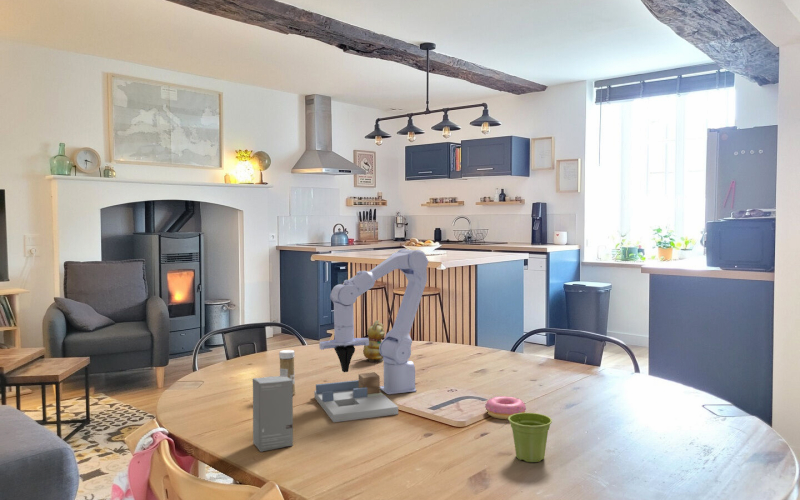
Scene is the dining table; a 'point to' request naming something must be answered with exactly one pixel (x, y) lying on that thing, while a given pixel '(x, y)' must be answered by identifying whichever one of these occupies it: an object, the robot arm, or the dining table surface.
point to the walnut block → (370, 382)
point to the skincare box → (272, 412)
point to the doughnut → (504, 406)
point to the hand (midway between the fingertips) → (345, 371)
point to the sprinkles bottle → (287, 365)
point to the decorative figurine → (374, 342)
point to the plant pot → (530, 435)
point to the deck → (352, 401)
